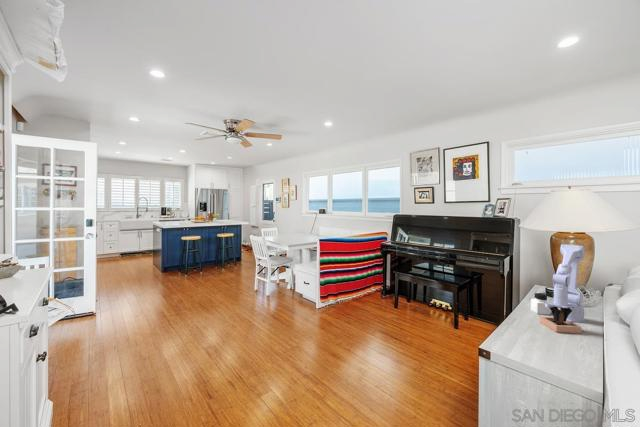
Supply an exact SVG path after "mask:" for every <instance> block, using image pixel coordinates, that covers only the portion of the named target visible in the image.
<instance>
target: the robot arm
mask: <svg viewBox="0 0 640 427" xmlns="http://www.w3.org/2000/svg"><path fill="white" fill-rule="evenodd" d="M559 252H560V253H561V255H562V257H563V258H562V262H561V263H560V264H558V266H557V270H556V273H555V274H553V275H552V287H553V301H552V302H548V303H545V307H547V308H550V313H551V314H552V317H554V320H555V321H559V314H560V311H562V312H564V322H566V320H568V321H570V322H572V323H576V322H577V323H586V321H585V308H584V306H583V298H584V297H583V293H582V291H580V289H578V288H577V284H578V283H577V282H578V273H579V266H580V265H579V264H580V262H581V261H584V259H585V254H586V248H585V245H577V244H567V243H566V244H565V243H562V244H561V245H560V250H559Z"/></svg>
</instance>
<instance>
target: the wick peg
mask: <svg viewBox="0 0 640 427" xmlns="http://www.w3.org/2000/svg"><path fill="white" fill-rule="evenodd" d="M556 324H557V325H564V312H562V311H560V314H559V321H556Z"/></svg>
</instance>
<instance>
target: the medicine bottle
mask: <svg viewBox="0 0 640 427" xmlns="http://www.w3.org/2000/svg"><path fill="white" fill-rule="evenodd" d="M545 303H549V301H548V295H547V294H546V293H544V292H534V298H531V299H530V311H532V312H534V313H535V314H537V315H544V316H545V315H546V316H547V315H548V316H549V315H550V316H551V310H550V308H547V307H545Z"/></svg>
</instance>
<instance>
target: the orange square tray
mask: <svg viewBox="0 0 640 427" xmlns="http://www.w3.org/2000/svg"><path fill="white" fill-rule="evenodd" d="M539 323H540V324H541V325H543V326H545V327H546V328H548V329H550V330H551V331H553V332H554V333H558V334H576V335H577V334H579V335H581V334H582V326H580V325H578V324H576V323H575V322H570V321H568V320H566V322H564V325H557V324H556V321H555V320H554V317H553V316H540V317H539Z"/></svg>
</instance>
